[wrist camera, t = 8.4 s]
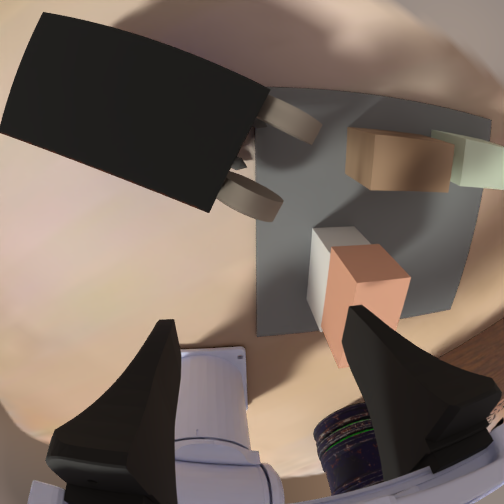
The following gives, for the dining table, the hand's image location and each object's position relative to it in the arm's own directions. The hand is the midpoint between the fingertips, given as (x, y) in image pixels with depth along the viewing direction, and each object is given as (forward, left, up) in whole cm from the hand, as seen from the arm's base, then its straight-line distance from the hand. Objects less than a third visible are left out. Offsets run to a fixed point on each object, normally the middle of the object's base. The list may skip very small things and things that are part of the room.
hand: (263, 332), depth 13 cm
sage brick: (+6, -17, -10) cm, 21 cm away
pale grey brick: (-3, -6, -10) cm, 12 cm away
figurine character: (+8, +4, -10) cm, 14 cm away
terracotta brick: (-2, -6, -6) cm, 9 cm away
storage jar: (-27, -13, -11) cm, 32 cm away
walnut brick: (+6, -10, -10) cm, 15 cm away
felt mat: (0, -11, -10) cm, 15 cm away
